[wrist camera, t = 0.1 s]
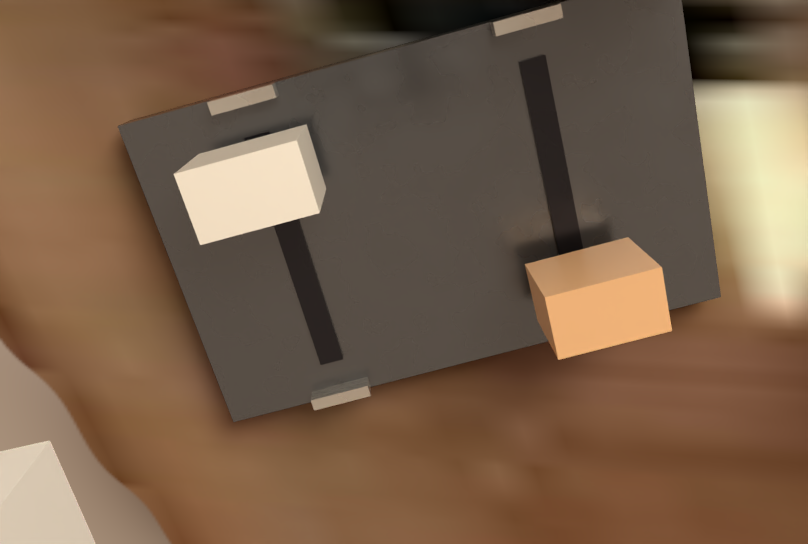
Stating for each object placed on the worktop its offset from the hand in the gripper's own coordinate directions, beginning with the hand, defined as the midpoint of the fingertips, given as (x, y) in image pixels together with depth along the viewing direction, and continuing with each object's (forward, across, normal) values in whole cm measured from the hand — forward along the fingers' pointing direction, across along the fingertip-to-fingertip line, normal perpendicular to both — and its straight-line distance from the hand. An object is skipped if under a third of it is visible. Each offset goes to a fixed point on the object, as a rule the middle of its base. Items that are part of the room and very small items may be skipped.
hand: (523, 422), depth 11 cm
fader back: (+26, +6, -8) cm, 28 cm away
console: (+28, 0, -4) cm, 28 cm away
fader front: (+26, -7, 0) cm, 27 cm away
